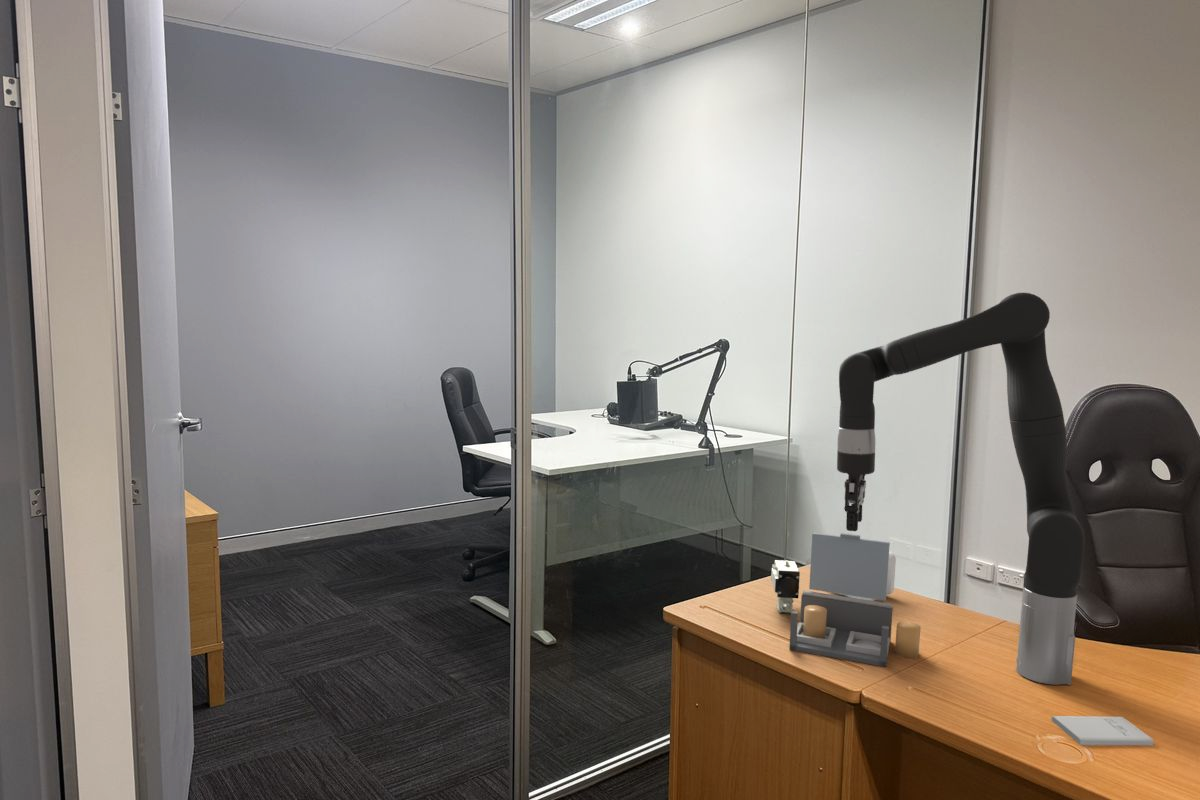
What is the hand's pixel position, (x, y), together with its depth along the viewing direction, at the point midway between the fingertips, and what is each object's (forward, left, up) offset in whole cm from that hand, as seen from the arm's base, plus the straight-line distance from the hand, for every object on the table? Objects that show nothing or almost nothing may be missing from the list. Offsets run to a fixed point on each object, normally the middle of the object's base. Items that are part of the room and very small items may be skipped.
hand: (854, 525), depth 173 cm
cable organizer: (+1, -32, -26) cm, 41 cm away
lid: (+1, -3, -10) cm, 10 cm away
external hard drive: (-44, +20, -26) cm, 55 cm away
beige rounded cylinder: (-12, 0, -26) cm, 28 cm away
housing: (+1, +2, -25) cm, 26 cm away
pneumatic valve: (+16, -12, -26) cm, 33 cm away
